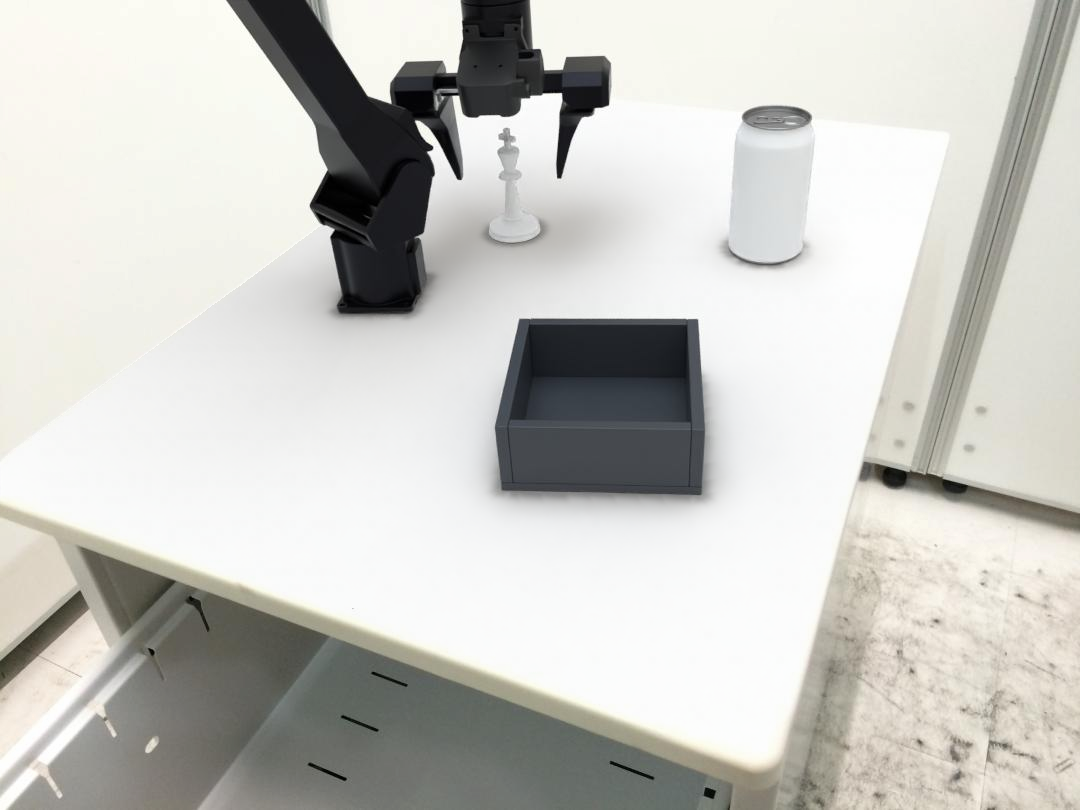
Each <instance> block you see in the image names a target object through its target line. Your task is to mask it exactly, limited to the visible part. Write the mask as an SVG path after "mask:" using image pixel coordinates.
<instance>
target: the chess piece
mask: <svg viewBox="0 0 1080 810" xmlns="http://www.w3.org/2000/svg"><path fill="white" fill-rule="evenodd" d="M498 140H499V141H503V146H500V147H499V148H498V149H497V150H496V153H497V157H498V158H499V160H500V163H501V165H502V168H503V170H502V171H500V172H499V174H498V179H499V180H501V181H504V182H505V193H504V212H503V213H502V214H501V215H499V216H497V217H496V218H494V219H493V220H492V221H491V222H490V224H489V226H488V228H489V231H488V234H489V237H490V238H492V239H493V240H495V241H497V242H501V243H506V244H507V243H509V244H512V243H515V244H516V243H523V242H526V241H529V240H532V239H534V238H536V237H537V236H539V234H540V233H541V230H542V229H541V225H540V220H539V219H538V218H537V217H535V216H534V215H532V214H529V213H526V212H525V211H523V208H522V206H521V200H520V196H519V190H518V185H517V180H520V179H521V178H522V177H523V174H522V172H521V171H520V170H518V169H516V167H517V165H518V159H519V156H520V148H519V147H518V146H516V145H512V144H514V143H515V142H517V137H516V136H515V135H511V128H509V127H504V128H503V129H502V132H501V133H498Z"/></svg>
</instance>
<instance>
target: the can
mask: <svg viewBox="0 0 1080 810" xmlns="http://www.w3.org/2000/svg"><path fill="white" fill-rule="evenodd" d="M741 120H742V121H741V122H740V124H739V126H738V128H737V129H736V131H735V138H734V150H733V151H734V152H733V164H732V175H731V176H732V177H731V178H732V179H731V180H732V181H731V192H730V193H731V194H730V208H729V226H728V248H729V249H730V251H731V252H732V253H733V254H734V256H736V257H737V258H738V259H740V260H743V261H744V262H747V263H752V264H757V265H777V264H782V263H785V262H788V261H791V260H793V259H794V258H795V257H797V256H798V255H799V254H800V253H801V252H802V250H803V247H804V241H805V240H804V238H805V232H806V224H807V215H808V205H809V199H810V198H809V197H810V190H811V189H810V188H811V180H812V171H813V163H814V154H815V145H816V133H815V131H814V127H813V125H812V120H813V115H812V114H811V112H809V111H808V110H806V109H804V108H802V107H798V106H794V105H787V104H766V105H759V106H755V107H751V108H748V109H747V110H745V111H744V112H743V113H742V114H741Z"/></svg>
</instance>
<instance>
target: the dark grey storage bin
mask: <svg viewBox="0 0 1080 810" xmlns="http://www.w3.org/2000/svg"><path fill="white" fill-rule="evenodd" d="M699 325H700V324H699V319H698V318H568V317H567V318H565V317H564V318H560V317H559V318H554V317H553V318H551V317H550V318H549V317H547V318H545V317H543V318H542V317H541V318H538V317H537V318H532V317H531V318H519V319H518V322H517V326H516V331H515V336H514V341H513V344H512V350H511V352H510V358H509V361H508V362H509V363H508V367H507V370H506V375H505V380H504V385H503V387H502V393H501V397H500V401H499V406H498V410H497V416H496V420H495V424H494V433H495V435H494V436H495V443H496V451H497V460H498V461H497V462H498V470H499V478H500V479H499V480H500V487H501V490H502V491H503V490H504V491H539V492H540V491H541V492H543V491H544V492H545V491H546V492H585V493H587V492H588V493H627V494H629V493H632V494H669V495H671V494H673V495H675V494H677V495H702V493H703V476H704V475H703V474H704V459H705V443H706V442H705V439H706V420H705V419H706V418H705V407H704V406H705V405H704V404H705V403H704V389H703V388H704V387H703V374H702V373H703V372H702V359H701V342H700V341H701V340H700V339H701V338H700V326H699Z"/></svg>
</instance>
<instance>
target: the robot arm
mask: <svg viewBox="0 0 1080 810" xmlns="http://www.w3.org/2000/svg"><path fill="white" fill-rule="evenodd" d="M225 1H226V2H227V4H228V6H229V7H230V8H231V9H232V11H233V13H234V14H235V15H236V16H237V19H239V21H240V22H241V24H242V25H243V26H244V27H245V29H246V30H247V32H248V33H249V35H250V36H251V37H252V39H253V40H254V41H255V43H256V44H257V46H258V47H259V48H260V50H261V51H262V53H263V54H264V55H265V57H266V58H267V59H268V61H269V62H270V64H271V65H272V67H273V68H274V69H275V70H276V72H277V74H278V75H279V77H280V78H281V79H282V81H283V83H285V85H286V86H287V88H288V89H289V90H290V92H291V93H292V95H293V96H294V98H295V99H296V100H297V102H298V103H299V105H300V106H301V107H302V109H303V110H304V111H305V113H306V114H307V116H308V117H309V119H310V120H311V121H312V123H313V125H314V128H315V133H316V141H317V147H318V152H319V155H320V157H321V159H322V161H323V163H324V165H325V167H326V169H327V170H326V172H325V174H324V176H323V178H322V180H321V181H320V183H319V185H318V187H317V189H316V191H315V193H314V195H313V196H312V198H311V201H310V203H309V209H310V211H311V212H312V214H313V215H314V218H316V220H317V221H318V223H319V224H320V225H322V226H326V227H328V228H330V229H332V230H333V231H332V233H331V235H330V236H329V239H330V244H331V248H332V249H331V250H332V253H333V258H334V264H335V267H336V268H335V269H336V272H337V277H338V281H339V287H340V292H341V296H340V298H339V300H338V302H337V303H336V308H337V311H338V312H339V313H410V312H412V311H413V310H414V308H415V306H416V303H417V300H418V298H419V296H421V294H423V291H424V288H425V286H426V283H427V280H428V276H427V269H426V263H425V257H424V249H423V242H422V239H421V238H420V237H419V236H422V235H423V234H424V233H425V230H426V224H427V215H428V211H429V210H428V209H429V204H430V203H429V202H430V196H431V191H432V190H431V189H432V185H433V178H434V177H435V175H436V169H435V164H434V162H433V159H432V157H431V155H430V153H428V152H432V151H433V150H434V146H433V145H432V144H431V143H429V142H428V141H426V139H425V138H424V137H423V136H422V134H421V131H420V130H419V127H418V124H417V122H420V123H422V124H423V125H424V126H425V127H427V129H429V130H430V132H431V133H432V135H433V136H434V138H435V140H436V141H437V142H438V144H439V146H440V149H441V150H442V152H443V154H444V156H445V158H446V160H447V162H448V164H449V166H450V168H451V170H452V172H453V175H454V176H455V178H456V180H457V181H462V180H463V179H464V159H463V153H462V152H463V151H462V146H461V139H460V134H459V133H460V132H459V128H458V122H457V116H456V110H455V104H454V98H453V97H458V98H459V103H460V109H461V112H462V115H463V116H464V117H466V118H471V119H477V118H479V117H481V116H482V117H483V116H500V117H501V118H512V117H515V116H516V115H517V114H519V113H520V111H521V108H522V100H524V99H525V100H527V99H531V97H541V96H543V95H546V94H547V95H549V94H550V95H551V94H561V104H560V109H559V112H558V136H557V147H556V148H557V149H556V157H555V158H556V160H555V171H556V179H557V180H559V179H560V180H561V179H562V178H563V173H564V170H565V167H566V164H567V163H566V162H567V158H568V156H569V152H570V148H571V144H572V141H573V138H574V136H575V134H576V131H577V129H578V126H579V124H580V122H581V120H582V119H583V118H589V117H592V116H594V115H595V112H596V109H603V108H607V107H609V106H610V102H611V93H612V83H613V82H612V62H611V61H610V60H609V59H608V58H607V57H606V55H583V56H565V60H564V64H563V67H562V69H545V62H544V56H543V52H542V49H541V48H534V43H533V26H532V14H531V13H532V12H531V11H532V10H531V0H460V10H461V19H462V20H461V27H462V29H461V32H462V41H461V45H460V51H459V55H458V66H457V71H456V72H447V67H446V65H445V62H444V60H418V61H417V60H416V61H413V60H412V61H405V62H404V64H402V66H401V67H400V68H399V70H398V71H397V72H396V74H395V76H394V77H393V78H392V79H391V81H390V83H389V97H390V102H387V101H384V100H381V99H378V98H375V97H372V96H369V95H368V94H367V92H366V91H365V90H364V88H363V86H362V85H361V83H360V81H359V80H358V78H357V77H356V75H355V74H354V72H353V71H352V69H351V67H350V66H349V65H348V63H347V62H346V60H345V58H344V57H343V55H342V54H341V52H340V50H339V48H338V47H337V46H336V43H334V41H333V40H332V38H331V37H330V35H329V33H328V32H327V30H326V29H325V27H324V25H323V24H322V22H321V20H320V19H319V18H318V16H317V15H316V13H315V11H314V10H313V8H312V7H311V5H310V3H309V1H307V0H225Z"/></svg>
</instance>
